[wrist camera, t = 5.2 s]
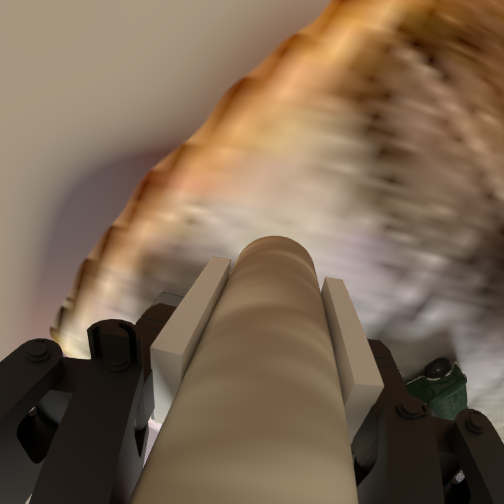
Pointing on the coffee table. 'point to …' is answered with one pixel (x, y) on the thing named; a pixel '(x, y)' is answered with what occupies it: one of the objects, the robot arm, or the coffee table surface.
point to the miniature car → (440, 390)
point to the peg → (257, 397)
